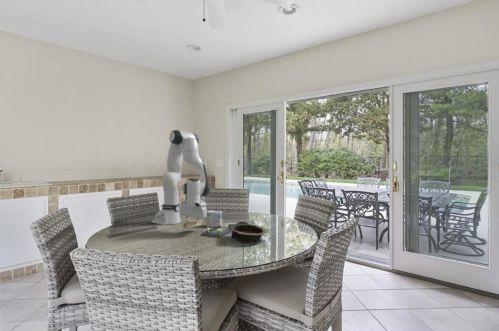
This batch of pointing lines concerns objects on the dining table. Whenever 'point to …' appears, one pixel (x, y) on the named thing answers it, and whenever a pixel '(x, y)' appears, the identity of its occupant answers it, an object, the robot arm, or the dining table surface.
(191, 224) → the birch board
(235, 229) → the stone bowl
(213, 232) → the chassis
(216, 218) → the light bulb box
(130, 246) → the dining table surface
